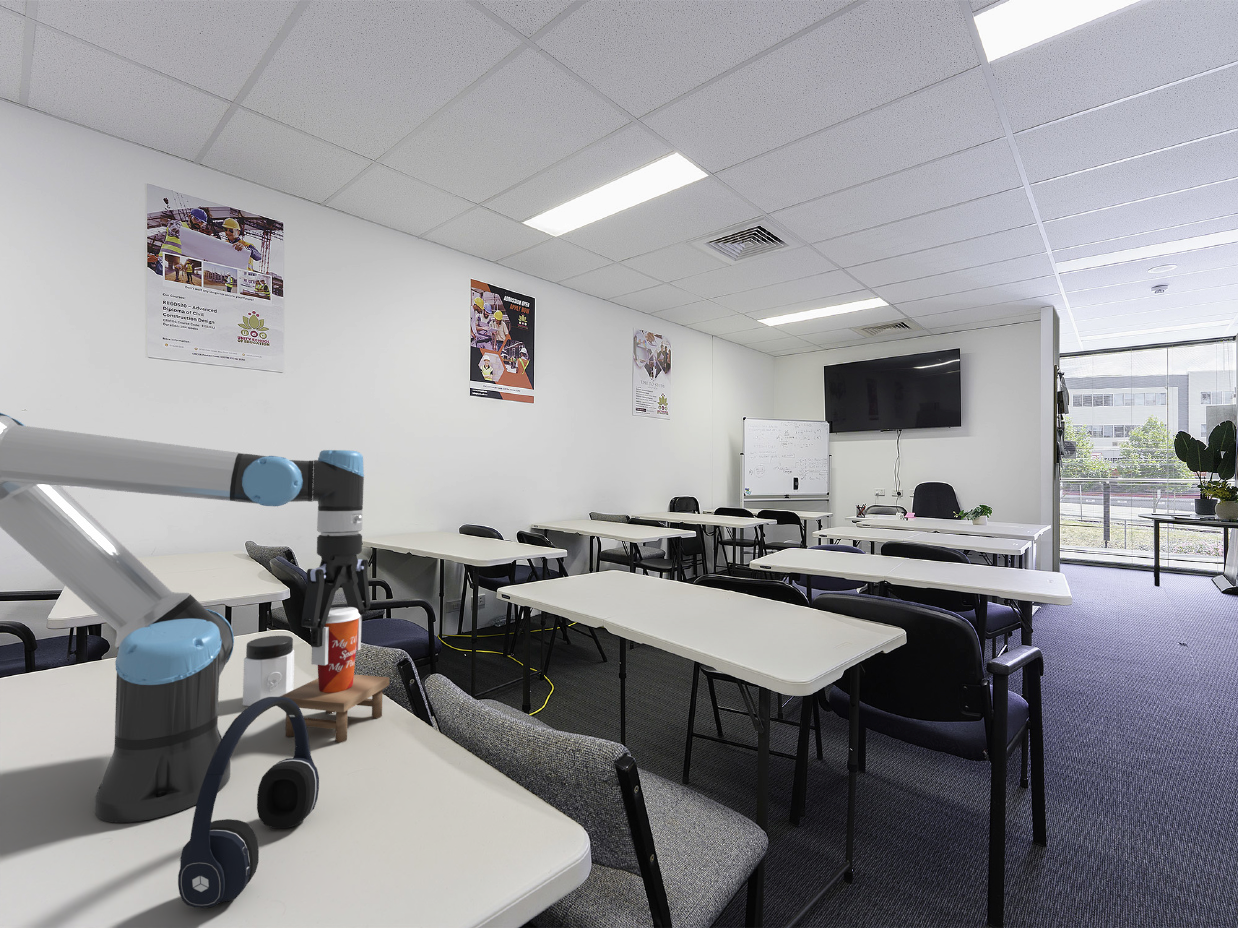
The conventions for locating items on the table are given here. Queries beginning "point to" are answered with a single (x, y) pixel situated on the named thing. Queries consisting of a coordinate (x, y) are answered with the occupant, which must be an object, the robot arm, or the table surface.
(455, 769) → the table surface
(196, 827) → the headphones
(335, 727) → the stool
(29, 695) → the table surface
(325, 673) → the paper cup
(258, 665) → the jar
